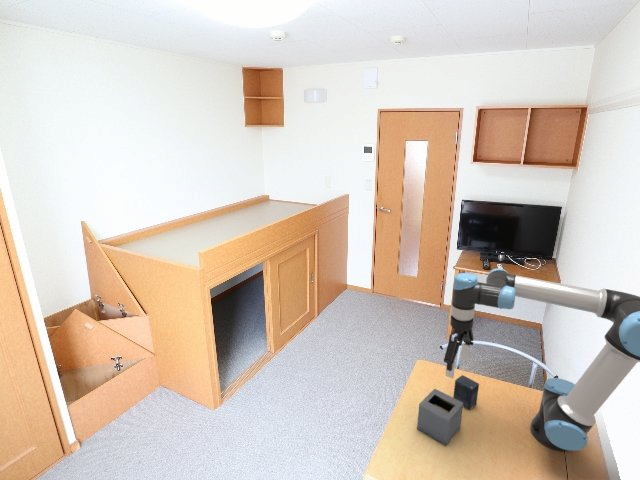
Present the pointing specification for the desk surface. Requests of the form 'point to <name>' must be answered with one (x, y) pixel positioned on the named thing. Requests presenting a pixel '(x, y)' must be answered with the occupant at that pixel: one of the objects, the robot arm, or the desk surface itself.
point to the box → (466, 391)
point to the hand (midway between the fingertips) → (457, 368)
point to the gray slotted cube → (440, 416)
